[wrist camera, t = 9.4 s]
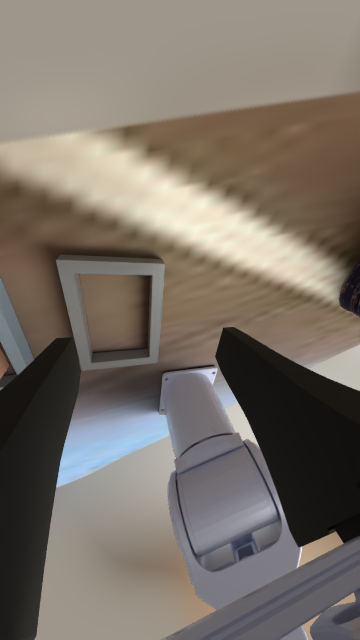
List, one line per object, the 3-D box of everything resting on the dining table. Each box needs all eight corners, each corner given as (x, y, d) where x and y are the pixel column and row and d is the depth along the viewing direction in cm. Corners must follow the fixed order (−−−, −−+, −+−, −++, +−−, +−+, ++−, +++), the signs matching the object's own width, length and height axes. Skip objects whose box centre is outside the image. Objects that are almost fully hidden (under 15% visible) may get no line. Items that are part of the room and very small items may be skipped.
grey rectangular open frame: (155, 353, 23) (157, 362, 22) (84, 360, 21) (81, 371, 20) (161, 258, 17) (164, 264, 16) (61, 254, 15) (55, 259, 13)
